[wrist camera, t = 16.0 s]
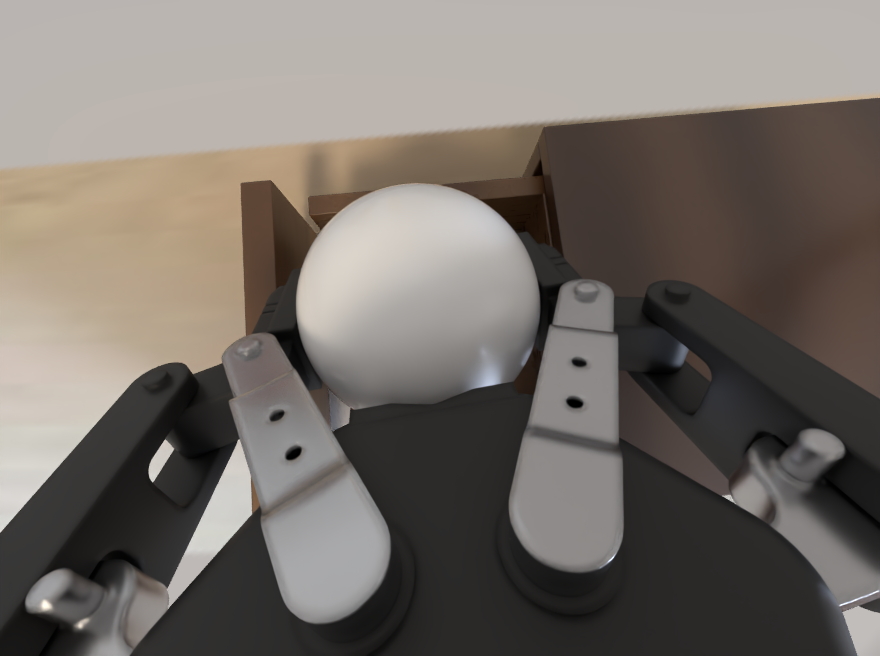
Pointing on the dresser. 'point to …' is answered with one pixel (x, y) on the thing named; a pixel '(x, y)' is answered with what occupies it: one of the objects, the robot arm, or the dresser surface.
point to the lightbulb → (416, 298)
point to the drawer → (290, 237)
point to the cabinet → (729, 232)
